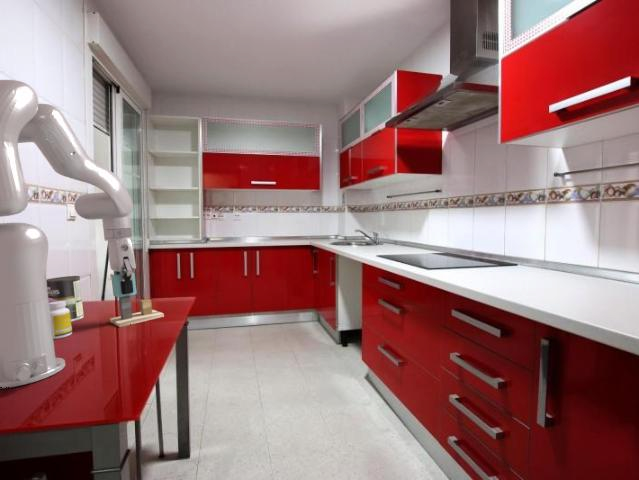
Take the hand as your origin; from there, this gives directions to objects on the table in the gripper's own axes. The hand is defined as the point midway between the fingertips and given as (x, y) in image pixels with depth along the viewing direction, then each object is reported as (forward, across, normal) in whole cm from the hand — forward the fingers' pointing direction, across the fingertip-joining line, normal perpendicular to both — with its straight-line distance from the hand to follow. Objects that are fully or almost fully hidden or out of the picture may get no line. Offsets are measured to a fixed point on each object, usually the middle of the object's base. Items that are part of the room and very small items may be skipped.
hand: (124, 291), depth 112 cm
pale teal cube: (+1, 0, 0) cm, 1 cm away
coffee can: (+10, +23, +12) cm, 28 cm away
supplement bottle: (+9, +1, +17) cm, 20 cm away
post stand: (+9, 0, -3) cm, 10 cm away
